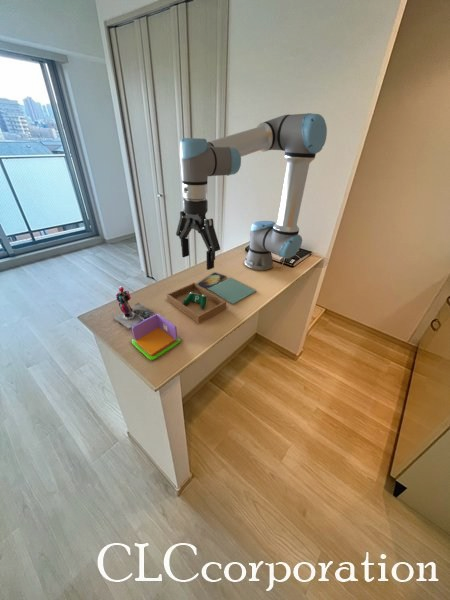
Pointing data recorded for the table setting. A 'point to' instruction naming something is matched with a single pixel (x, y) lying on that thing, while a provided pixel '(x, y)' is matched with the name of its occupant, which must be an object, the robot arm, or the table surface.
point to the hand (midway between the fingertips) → (197, 262)
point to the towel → (231, 290)
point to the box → (203, 291)
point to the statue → (130, 310)
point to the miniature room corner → (154, 336)
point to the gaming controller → (196, 299)
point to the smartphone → (211, 280)
